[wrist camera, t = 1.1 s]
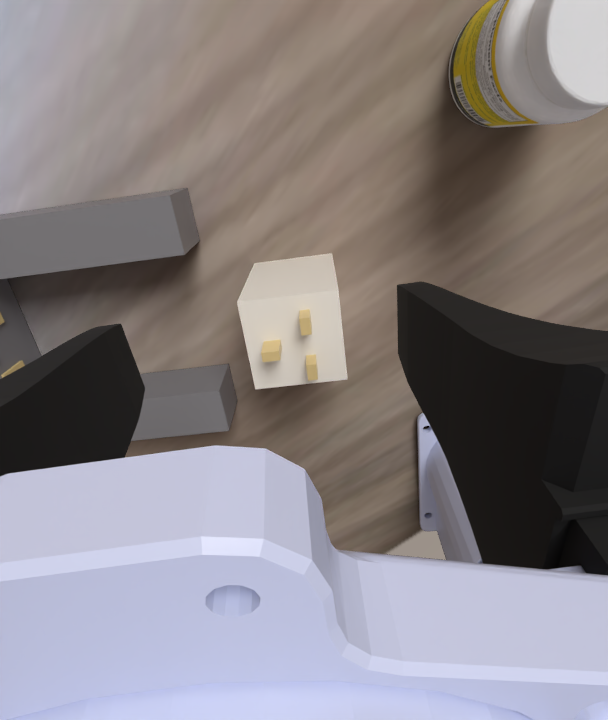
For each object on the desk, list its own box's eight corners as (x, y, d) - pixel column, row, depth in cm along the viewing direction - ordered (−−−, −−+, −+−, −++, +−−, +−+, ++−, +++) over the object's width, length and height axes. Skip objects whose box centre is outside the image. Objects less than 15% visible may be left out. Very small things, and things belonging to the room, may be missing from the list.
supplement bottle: (578, 2, 18) (770, -94, 10) (539, 133, 20) (675, 131, 13) (461, -12, 18) (570, -120, 10) (433, 121, 20) (508, 112, 12)
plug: (339, 325, 24) (349, 392, 18) (267, 334, 25) (252, 403, 18) (332, 253, 23) (339, 298, 16) (254, 263, 23) (232, 312, 17)
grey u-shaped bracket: (237, 401, 27) (222, 454, 22) (37, 422, 28) (-15, 478, 23) (187, 187, 21) (154, 201, 17) (-58, 222, 22) (-151, 244, 18)
